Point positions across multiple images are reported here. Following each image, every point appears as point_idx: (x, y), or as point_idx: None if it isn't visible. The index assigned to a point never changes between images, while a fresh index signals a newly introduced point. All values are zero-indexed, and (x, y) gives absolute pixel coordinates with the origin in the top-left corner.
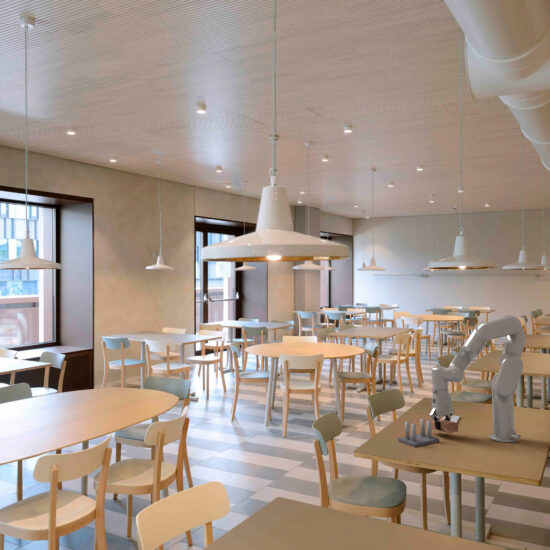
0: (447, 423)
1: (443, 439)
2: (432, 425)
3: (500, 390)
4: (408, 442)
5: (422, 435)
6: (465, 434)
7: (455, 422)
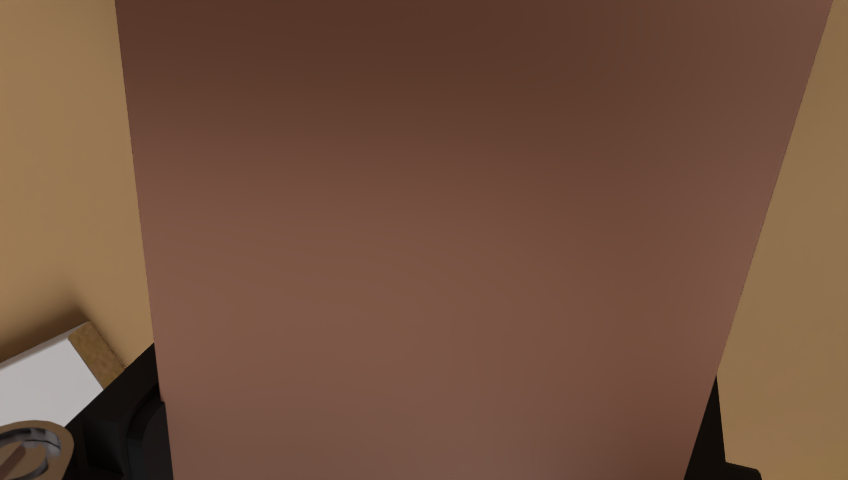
0: (555, 250)
1: None
2: None
3: None
4: None
5: None
6: (17, 10)
7: (136, 55)
